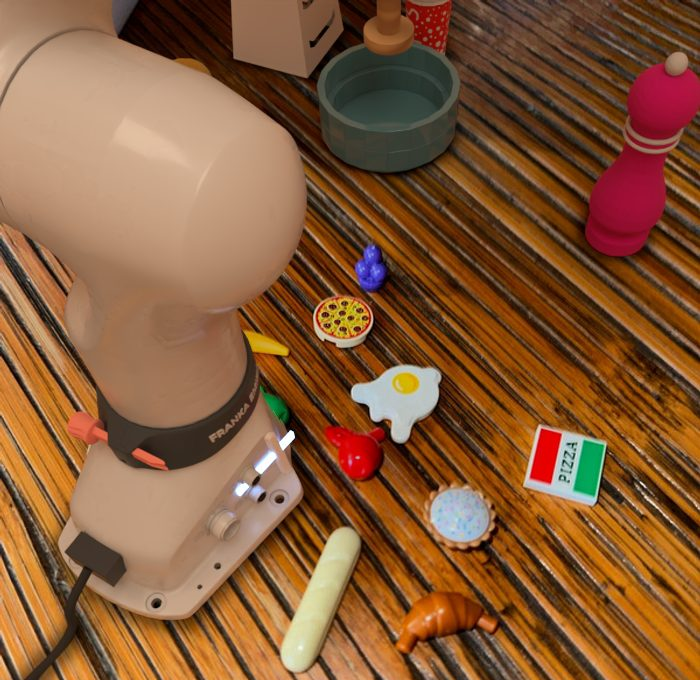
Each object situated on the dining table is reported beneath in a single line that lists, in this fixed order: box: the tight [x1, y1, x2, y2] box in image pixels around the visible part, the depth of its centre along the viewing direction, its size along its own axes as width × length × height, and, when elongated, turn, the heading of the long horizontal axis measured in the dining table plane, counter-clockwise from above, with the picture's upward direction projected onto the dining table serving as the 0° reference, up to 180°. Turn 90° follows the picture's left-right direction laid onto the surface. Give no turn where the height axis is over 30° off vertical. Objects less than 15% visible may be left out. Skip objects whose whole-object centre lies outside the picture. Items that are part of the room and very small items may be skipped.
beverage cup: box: [405, 0, 453, 56], centre depth 89 cm, size 6×6×14 cm
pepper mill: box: [584, 51, 700, 257], centre depth 71 cm, size 7×7×20 cm
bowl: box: [316, 42, 461, 174], centre depth 86 cm, size 16×16×6 cm
